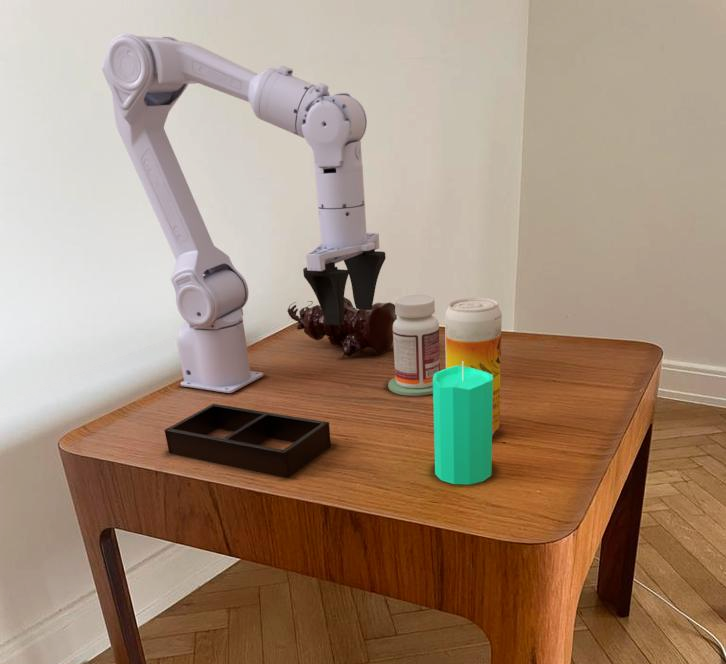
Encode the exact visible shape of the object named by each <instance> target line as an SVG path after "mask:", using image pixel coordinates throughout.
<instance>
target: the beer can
mask: <svg viewBox="0 0 726 664" xmlns="http://www.w3.org/2000/svg"><path fill="white" fill-rule="evenodd" d="M502 315H503V314H502V310H501V309H500V306H499V303H498V301H497V300H495V299H492V298H486V297H485V298H484V297H468V298H460V299H457V300H453V301H451V302H449V303H448V307H447V309H446V312H445V314H444V341H445V342H444V343H445V344H444V346H445V369H447V368H450V367H453V366H462V361H464V367H470V368H475V369H478V370H481V371H485V372H487V373H490V374H492V375H493V410H492V436H493V435H494V434H495V433H496V431H497V430H498V429H499V428H500V416H501V415H500V414H501V413H500V411H501V365H502V364H501V363H502V319H503V317H502Z"/></svg>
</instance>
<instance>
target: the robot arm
mask: <svg viewBox="0 0 726 664" xmlns="http://www.w3.org/2000/svg"><path fill="white" fill-rule="evenodd" d="M102 65H103V66H102V69H101V71H102V73H103V75H104V78H105V80H106V83H107V84H108V87H109V89H110V91H111V95H112V103H113V104H112V105H113V112H114V119H115V125H116V128H117V131H118V133H119V135H120V138H121V140H122V143H123V144H124V147H125V149H126V151H127V154H128V155H129V158H130V161H131V162H132V165H133V167H134V169H135V172H136V173H137V175H138V178H139V181H140V182H141V184H142V187H143V189H144V191H145V194H146V196H147V198H148V200H149V202H150V205H151V207H152V209H153V212H154V214H155V216H156V218H157V221H158V223H159V225H160V227H161V229H162V232H163V234H164V237H165V238H166V241H167V243H168V246H169V247H170V250H171V252H172V254H173V256H174V259H175V264H174V267H173V270H172V273H171V276H170V281H171V284H172V285H173V289H174V292H175V303H176V307H177V311H178V313H179V314H180V316H181V317H182V319H183V320H184V321H185V322H184V323H182V325H181V326H180V328H179V329H178V333H177V339H176V340H177V341H176V342H177V343H176V344H177V351H178V354H179V355H178V356H179V360H180V361H179V362H180V366H181V371H182V377H183V381H181V382H180V386H181V387H186V388H191V389H192V388H193V389H197V390H205V391H211V392H218V393H225V394H232V393H234V392H237V391H238V390H240V389H242V388H244V387H246V386H247V385H249V384H251V383H253V382H255V381H257V380H259V379H261V378H262V377H264V373H263V372H261V371H260V372H259V371H253V370H251V367H250V362H249V361H250V360H249V353H248V347H247V341H246V340H247V339H246V332H245V325H244V318H243V317H244V309H243V308H244V307H245V305H247V302H248V299H249V286H248V283H247V281H246V279H245V277H244V276H243V275H242V273H240V271H238V269H236V267H235V266H234V264H233V262H232V261H231V257H230V256H229V255H228V254H227V253H225V252H224V251H223V250H221V249H220V248H218V247H217V246H215V244H214V242H213V240H212V238H211V235H210V233H209V230H208V228H207V226H206V223H205V221H204V219H203V217H202V214H201V212H200V210H199V207H198V205H197V202H196V199H195V198H194V196H193V193H192V191H191V189H190V186H189V184H188V182H187V179H186V176H185V175H184V172H183V169H182V167H181V165H180V163H179V161H178V158H177V156H176V153H175V151H174V149H173V147H172V144H171V141H170V140H169V138H168V134H167V132H166V130H165V124H166V121H167V119H168V115H169V113H170V111H171V110H172V108H173V107H174V106H175V105H176V103H177V102H178V100H179V99H180V97H181V96H182V94H184V92H185V90H186V89H187V88H188V86H189V85H191V84H193V85H195V84H199V85H202V86H205V87H208V88H210V89H213V90H216V91H218V92H220V93H224V94H226V95H228V96H232V97H234V98H237V99H239V100H242V101H245V102H247V103H249V104H250V107H251V109H252V111H253V113H254V116H255V117H256V118H257V119H259V120H260V121H263V122H266V123H268V124H270V125H273V126H275V127H277V128H280V129H282V130H285V131H286V132H289V133H291V134H293V135H296V136H298V137H300V138H302V139H305V141H306V142H307V144H308V146H310V148H311V149H312V152H313V153H312V154H313V163H314V176H315V177H314V178H315V186H316V199H317V210H318V223H319V233H320V234H319V235H320V244H319V245H318V246H317V247H315V248H314V249H313V250H312V251H309V252H308V253H306V254H305V261H306V267H304V268H303V269H302V273H303V278H304V279H305V280H306V281H307V283H308V284H309V286H310V287H311V289H312V291H313V293H314V295H315V296H316V297H315V298H317V301H318V305H319V306H320V307H321V310H322V313H323V316H324V318H325V321H326V324H330V325H341V324H343V317H344V297H345V292H346V291H345V290H346V285H347V282H348V277H349V279H350V283H351V290H352V297H353V302H354V307H355V309H357V310H359V309H363V310H370V309H372V305H374V299H375V293H376V287H377V283H378V279H379V278H378V277H379V275H380V273H381V270H382V267H383V264H384V262H385V261H386V258H387V257H386V251H381V250H380V251H379V249H380V234H379V233H377V232H367V219H366V217H367V216H366V204H365V203H366V201H365V185H364V171H363V170H364V167H363V156H362V142H361V140H362V139H363V137H364V135H365V134H366V130H367V127H368V126H367V124H368V120H367V113H366V110H365V109H364V106H363V105H362V103H360V101H358V99H356V98H354V97H352V96H351V94H350V93H348V92H339V93H335V94H333V95H331V94H330V92H329V85H327V84H325V83H322V82H318V83H317V84H313V83H311V82H308V81H306V80H304V79H301V78H300V77H297V76H295V75H293V73H294V70H293V68H290V67H288V66H286V65H278V67H277V68H276V67H268V68H265V70H263V71H262V72H260V73H258V72H255V71H253V70H251V69H248V68H246V67H245V66H242V65H240V64H238V63H236V62H234V61H232V60H231V59H228V58H226V57H223V56H221V55H219V54H217V53H215V52H213V51H211V50H209V49H207V48H205V47H202V46H200V45H198V44H196V43H193V42H191V41H184V40H178V39H177V38H175V37H172V36H161V37H158V36H157V37H156V36H145V35H143V36H142V35H135V34H132V33H120V34H119V35H117V36H115V37H114V38H113V39H112V40H111V42H110V43H109V44H108V48H107V51H106V55H105V59H104V61H103V64H102ZM376 250H377V251H376ZM341 262H343V263H344V265H345V267H346V269H340V268H338V266H336V264H339V263H341Z"/></svg>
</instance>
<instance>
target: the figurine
mask: <svg viewBox="0 0 726 664" xmlns="http://www.w3.org/2000/svg"><path fill="white" fill-rule="evenodd" d="M310 302H311V303H310ZM296 303H297V301H295V302H292V303H291V304H289V306H288V308H287V314H288V316H289V317H290V319H292V320H294V321H295V322H296V323H298V324H297V325H296V329H297V330H303V333H304V334H305V335H307V336H308V337H309V338H310V339H312V340H314V341H321V340H323V339H324V338H325V336H326V337H327V339H328V341H329V343H330V344H331V346H333V347H335V348H338V349H342V350H343V355H342V358H341V359H343V358H344V357H352V356H353V355H354V354H355V353H356V354H358V353H359V354H362V353H364V352H365V349H371V350H373V351H374V354H376V355H379V356H380V355H383V354H384V353H386V352H387V351H388V352H389V351H390V350H391V348H392V346H393V344H394V343H393V323H394V321H395V320H396V319H397V318H398V316H397V315H396V314H395V303H392V302H375V303H373V305H372V309H370V310H363V309H356V307H355V306H354V304H353V302H352V301H351V300H350V299H349V298H347V297H346V296H344V317H343V324H341V325H330V324H326V321H325V318H324V316H323V313H322V310H321V307H320V304H316V305H313V304H314V302H313V300H309V301H307V303H310V304H309V305H307V306H306V307H303V308H301V309H300V310H299V308H297V304H296ZM293 304H294V305H293ZM292 305H293V306H292ZM312 305H313V306H312ZM291 306H292V307H291ZM310 306H312V307H310ZM298 311H299V312H298ZM297 313H299V315H297Z"/></svg>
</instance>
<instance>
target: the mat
mask: <svg viewBox="0 0 726 664" xmlns="http://www.w3.org/2000/svg"><path fill="white" fill-rule="evenodd" d="M387 387H388V390H389V391H390V392H392V393H394V394H395V395H401V396H407V397H420V396H421V397H422V396H428V395H433V386H430V387H427V388H418V389H416V388H405V387H402V386H400V385H398V384H397V382H396V379H395V376H394V377H393V378H391V379H390V380H389V381H388V383H387Z"/></svg>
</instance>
